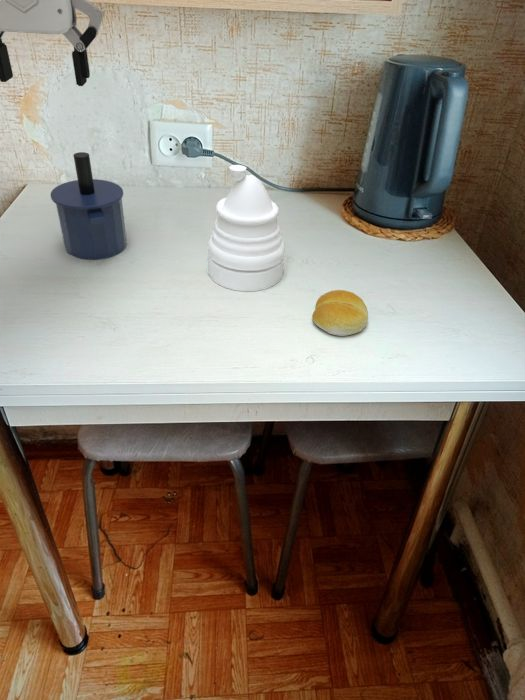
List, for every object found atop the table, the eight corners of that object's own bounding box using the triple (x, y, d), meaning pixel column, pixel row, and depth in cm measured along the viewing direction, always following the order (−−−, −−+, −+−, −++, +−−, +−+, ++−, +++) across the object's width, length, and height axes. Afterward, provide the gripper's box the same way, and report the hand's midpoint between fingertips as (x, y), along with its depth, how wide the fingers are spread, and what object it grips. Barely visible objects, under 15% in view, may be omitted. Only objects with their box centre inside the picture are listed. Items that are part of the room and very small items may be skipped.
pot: (72, 271, 84) (62, 218, 78) (59, 229, 95) (48, 180, 89) (136, 261, 88) (130, 209, 82) (116, 222, 99) (110, 174, 93)
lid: (50, 215, 80) (40, 169, 76) (53, 186, 89) (44, 143, 84) (125, 211, 83) (120, 166, 78) (121, 183, 91) (117, 142, 87)
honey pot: (218, 295, 81) (219, 186, 70) (200, 257, 91) (198, 154, 79) (293, 286, 85) (305, 180, 74) (268, 249, 94) (275, 151, 83)
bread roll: (308, 332, 75) (311, 310, 73) (317, 300, 82) (321, 279, 80) (363, 343, 74) (369, 321, 72) (368, 310, 81) (373, 288, 78)
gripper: (-85, -96, 53) (-35, 85, 64) (85, -82, 55) (106, 92, 65) (-55, -93, 59) (-13, 72, 70) (98, -81, 60) (115, 79, 71)
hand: (44, 81), depth 68 cm, fingers open, 9 cm apart
